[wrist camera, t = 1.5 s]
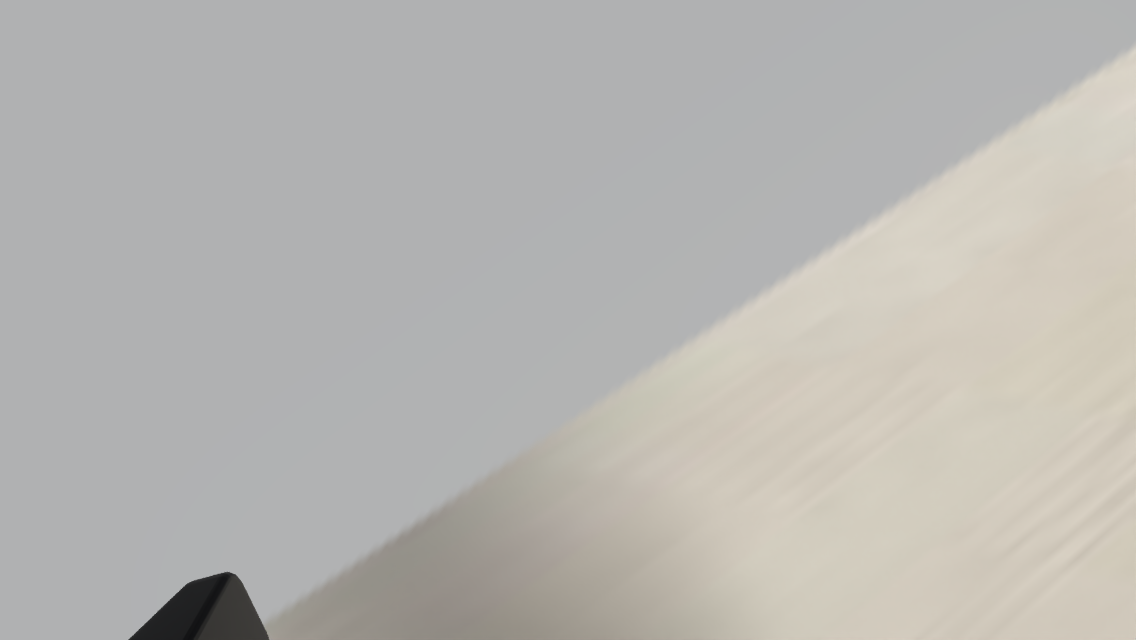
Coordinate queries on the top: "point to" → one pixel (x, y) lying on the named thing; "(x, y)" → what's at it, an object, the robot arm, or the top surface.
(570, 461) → the top surface
